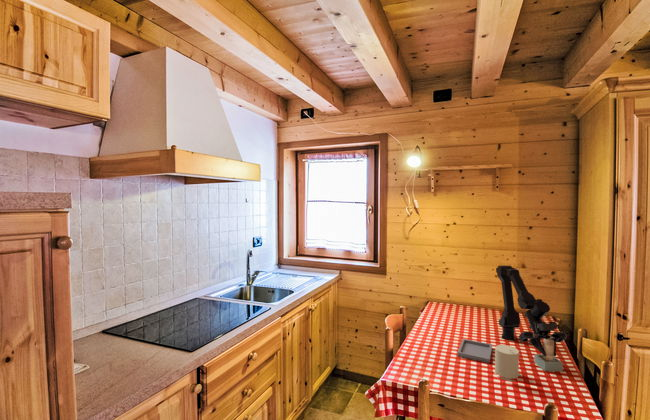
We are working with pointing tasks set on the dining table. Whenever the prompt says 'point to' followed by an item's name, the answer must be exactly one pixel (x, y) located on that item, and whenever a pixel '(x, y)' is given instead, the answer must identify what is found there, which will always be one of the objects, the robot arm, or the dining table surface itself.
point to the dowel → (548, 350)
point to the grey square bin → (548, 363)
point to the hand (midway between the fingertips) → (550, 356)
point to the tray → (475, 350)
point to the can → (506, 362)
